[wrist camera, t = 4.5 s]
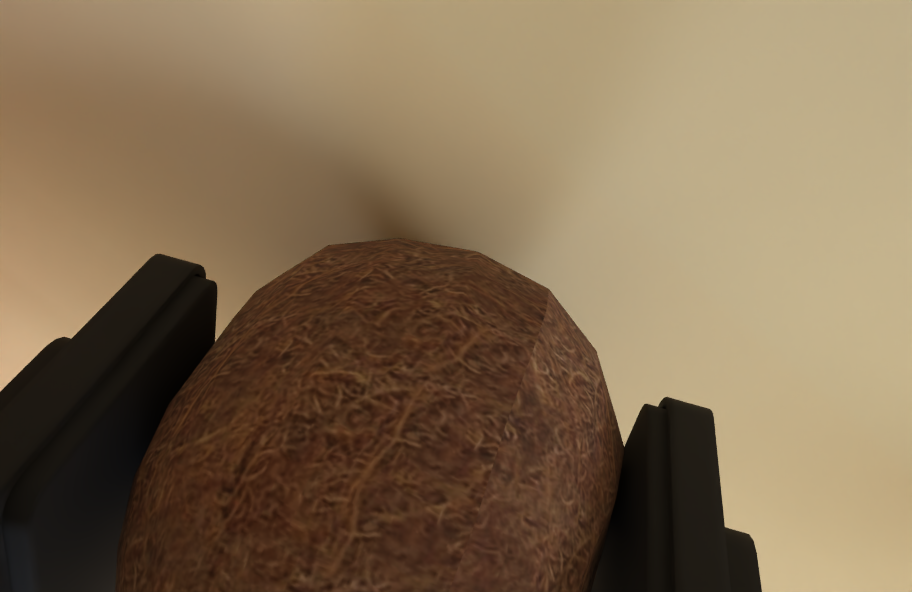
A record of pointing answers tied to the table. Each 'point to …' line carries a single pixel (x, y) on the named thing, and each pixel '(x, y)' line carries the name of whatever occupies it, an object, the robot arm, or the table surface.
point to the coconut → (382, 438)
